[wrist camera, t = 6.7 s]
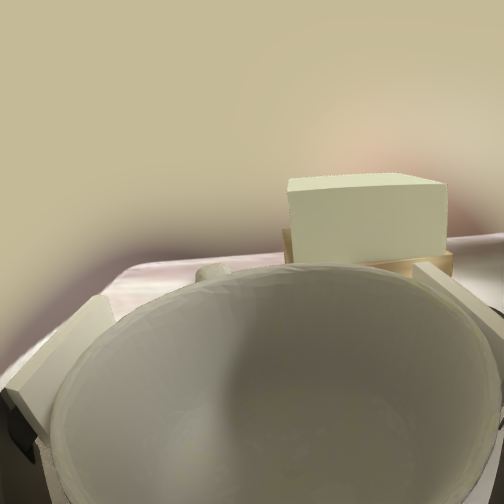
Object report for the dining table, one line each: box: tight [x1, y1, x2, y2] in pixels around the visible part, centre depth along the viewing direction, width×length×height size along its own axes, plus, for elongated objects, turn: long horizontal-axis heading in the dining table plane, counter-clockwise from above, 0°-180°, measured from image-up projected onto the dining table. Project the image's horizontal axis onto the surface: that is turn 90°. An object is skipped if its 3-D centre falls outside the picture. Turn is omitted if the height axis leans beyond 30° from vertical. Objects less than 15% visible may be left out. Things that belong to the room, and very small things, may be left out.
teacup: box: [50, 262, 502, 504], centre depth 9 cm, size 14×11×8 cm
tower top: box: [287, 173, 448, 264], centre depth 23 cm, size 11×11×5 cm
